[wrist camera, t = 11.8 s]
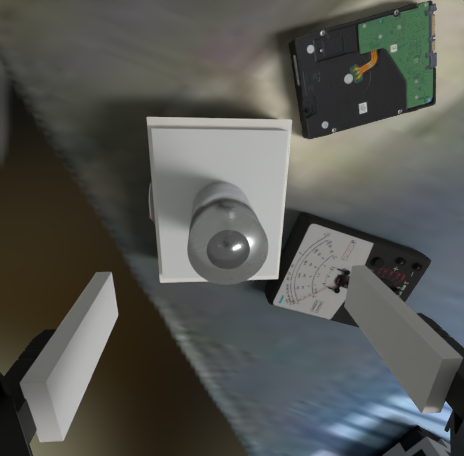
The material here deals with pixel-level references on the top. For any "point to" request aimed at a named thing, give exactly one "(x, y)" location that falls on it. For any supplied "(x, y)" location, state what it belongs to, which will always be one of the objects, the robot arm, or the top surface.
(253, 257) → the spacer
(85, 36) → the top surface
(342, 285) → the multimeter
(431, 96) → the disk drive
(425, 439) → the game console
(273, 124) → the scale
